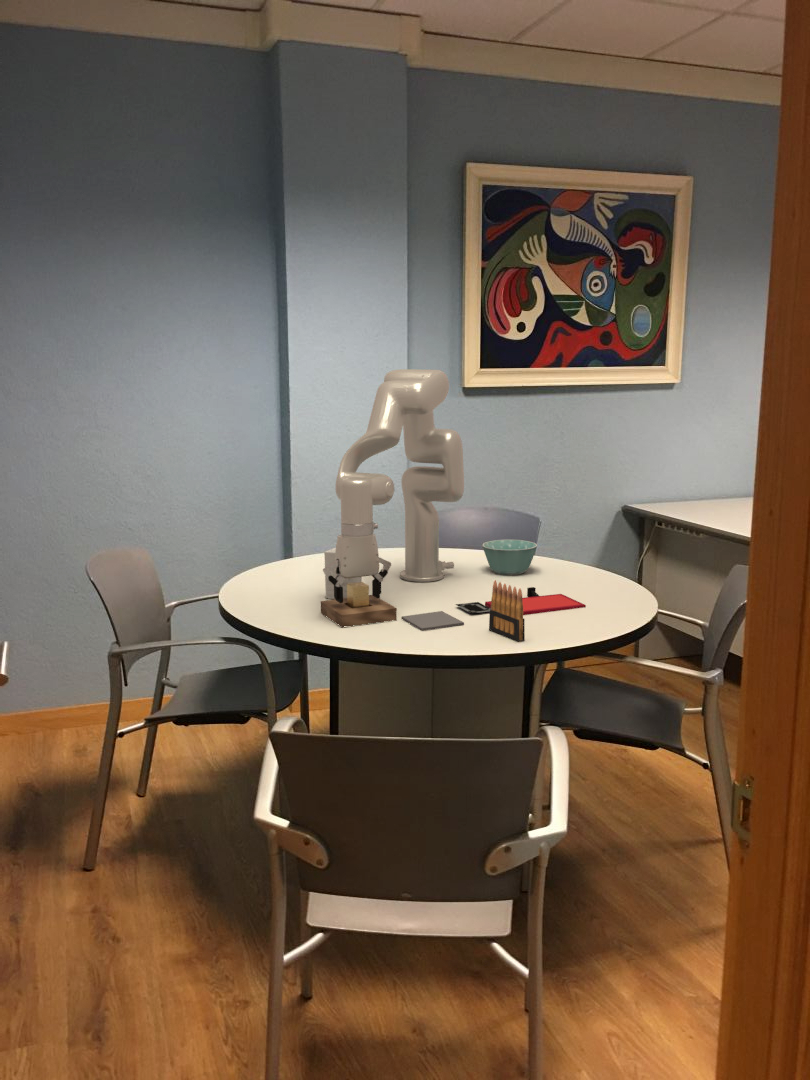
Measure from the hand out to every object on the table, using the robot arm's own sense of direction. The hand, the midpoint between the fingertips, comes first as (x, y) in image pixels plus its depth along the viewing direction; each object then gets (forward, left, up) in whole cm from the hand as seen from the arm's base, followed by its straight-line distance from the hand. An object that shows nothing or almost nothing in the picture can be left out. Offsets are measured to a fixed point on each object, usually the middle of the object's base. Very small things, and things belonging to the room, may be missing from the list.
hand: (357, 599), depth 223 cm
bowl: (-58, -24, -5) cm, 63 cm away
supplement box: (-4, -19, -5) cm, 20 cm away
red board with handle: (-40, +9, -5) cm, 41 cm away
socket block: (0, 0, -4) cm, 4 cm away
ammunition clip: (-24, +29, -5) cm, 38 cm away
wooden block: (0, 0, -4) cm, 4 cm away
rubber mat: (-14, +12, -4) cm, 19 cm away
